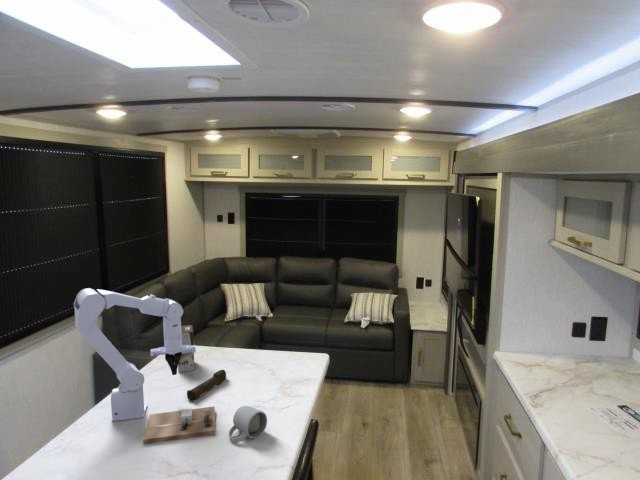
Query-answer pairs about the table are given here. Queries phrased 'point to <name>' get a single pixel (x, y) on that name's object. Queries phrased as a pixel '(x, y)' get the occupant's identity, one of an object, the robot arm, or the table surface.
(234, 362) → the table surface
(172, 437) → the wooden board
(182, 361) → the coffee box
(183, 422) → the white rectangular block
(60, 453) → the table surface
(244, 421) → the ceramic mug
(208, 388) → the hand tool
